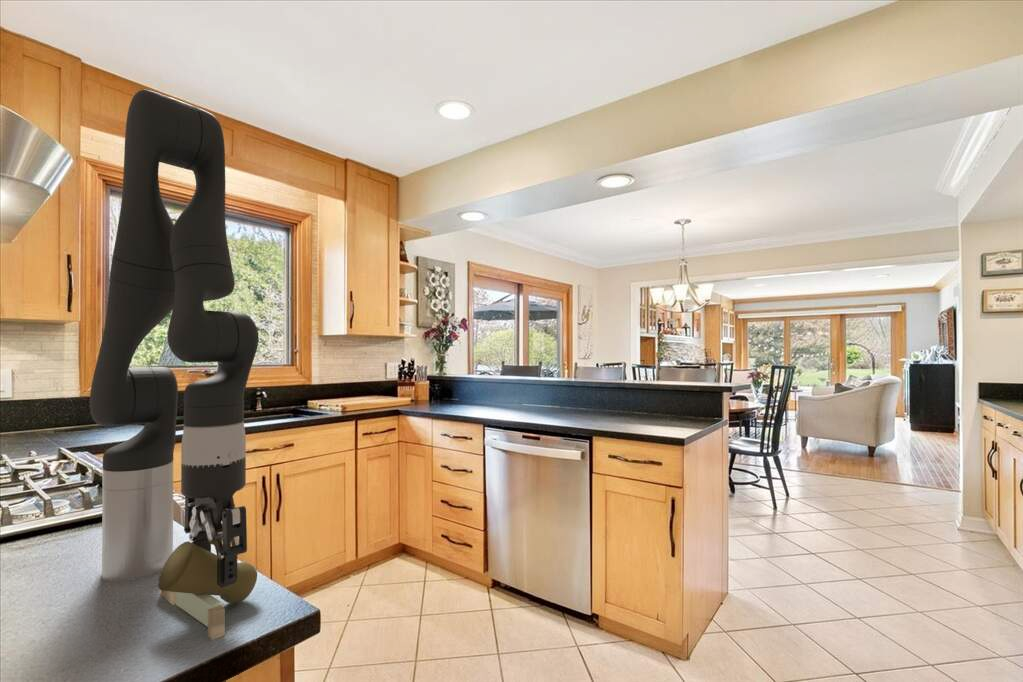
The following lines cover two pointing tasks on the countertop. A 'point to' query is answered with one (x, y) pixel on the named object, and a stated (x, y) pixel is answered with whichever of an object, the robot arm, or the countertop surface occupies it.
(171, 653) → the countertop surface
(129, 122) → the robot arm
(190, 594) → the gate door
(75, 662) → the countertop surface
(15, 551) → the countertop surface
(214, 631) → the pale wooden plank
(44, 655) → the countertop surface
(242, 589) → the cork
